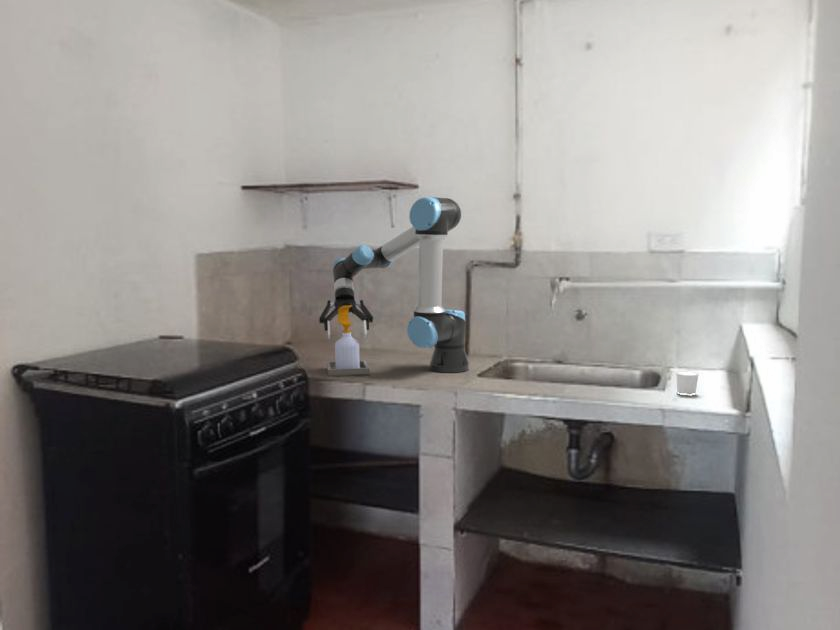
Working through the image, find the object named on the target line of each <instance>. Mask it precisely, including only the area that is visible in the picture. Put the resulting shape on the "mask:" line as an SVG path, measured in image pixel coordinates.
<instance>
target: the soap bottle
mask: <svg viewBox="0 0 840 630" xmlns="http://www.w3.org/2000/svg"><path fill="white" fill-rule="evenodd" d="M350 307H352V305H348V306H342V307H340V308H339V309H338V314H337V315H338V316H337V317H338V318H337V319H338V324H339V325H341V326H342V327H343V328H344V329H343V330H342V332H341V333H342V336H341V338H339V339H337V340H336V342H335V343H334V356H335V357H334V358H335V359H334V360H335V366H336V369H350V368H360V361H361V360H360V343H359V341H358V340H357V339H356V338H354V337H353V336H352V330H350V328H351V326H352V325H354V323H353V322H351V321H350V319H349V316H350V315H349V313H348V310H349V308H350Z"/></svg>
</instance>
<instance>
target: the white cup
mask: <svg viewBox="0 0 840 630" xmlns="http://www.w3.org/2000/svg"><path fill="white" fill-rule="evenodd" d="M675 374H676V393H677V392H679V393H687V394H692V393H697V386H698V380H699V373H697V372H694V371H677V372H676V373H675Z"/></svg>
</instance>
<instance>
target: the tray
mask: <svg viewBox="0 0 840 630" xmlns="http://www.w3.org/2000/svg"><path fill="white" fill-rule="evenodd" d="M370 369H371V368H370V367H369V364H368V363H367V361H366V360H360V368H350V369H336V366H335V361H334V360H333V361H331V360H330V361H326V371H327V376H328V377H329V376H335V377H358V376H359V377H360V376H361V377H363V375H367V376H370V374H371V373H370V371H371V370H370Z"/></svg>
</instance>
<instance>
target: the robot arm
mask: <svg viewBox="0 0 840 630" xmlns="http://www.w3.org/2000/svg"><path fill="white" fill-rule="evenodd" d="M461 210H462V209H461V207H460V205H459V204H458V202H456V201H455V200H454V199H452V198H448V197H447V198H446V197H435V196H426V197H421V198H418V199H417V200H416V201H414V202H413V204H412V206H411V207H410V210H409V221H410V224H411V225H412V227H410V228H409V229H406V230H405V231H404V232H402V233H400V234H398V235H396V237H393V238H392V239H390V240H389V241H387V242H385V243H383V245H382V246H379V247H378V248H376V249H375V248H374V249H371V247H370V246H368V245H365V244H361V245H358V247H356V248H355V249H354V250H353V251H352V252H351V253H350V254H348V256H347V257H346V258H345V257H340V258H337V259H335V260H334V262H333V264H332V267H333V268H332V275H333V286H334V288H333V289H334V301H331V300H327V301H326V302H327V304H326V306H325V307H324V309H323V311H322V312H321V314H320V316H319V320H318V321H319V324H323V326H324V331H325V332H327V340H331V325H330V323H331V321H332V320H333V319H334V318H335V317H336V316H337V315H338V309H339V308H340V307H342V306H348V305H352V307H350V308H349V310H348V314H349V313H351V314H352V315H354V316H356V317H357V318H359V319H360V321H362V322H363V325H362V326H363V335H364V336H363V337H364V339H367V338H368V331H369V330H370V323H373V322H374V316H373V315H372V314H371V312H370V310H369V309H368V308H367V307H366V305H365V304H364V300H363V299H360V300H359V301H357V300H355V288H354V277H355V276H357V275H358V274H359V273H360V272H361V271H362V270H369V269H385V268H389V267H390V266H392V265H393V263H394V261H395V260H398V259H399V258H400V257H402V256H404V255H405V254H407V253H410V252H411V251H412V250H414V249H415V248H418V247H419V248H418V282H417V283H418V286H417V287H418V289H417V290H418V291H417V292H418V293H417V306H416V307H414V309H413V317H412V318H411V319H410V321H408V323H407V327H406V328H407V329H406V330H407V331H406V332H407V336H408V338H409V340H410V341H411V342H412V343H413V345H415V346H416V347H417V348H421V349H424V348H425V349H426V348H427V349H429V348H433V347H434V348H433V353H432V355H431V359H430V361H429V370H430V371H433V372H437V373H462V372H466V371H469V370H470V363H469V358H468V356H467V353H466V349H465V345H466V313H465V312H464V311H463V310H456V309H455V310H454V309H444V307H443V306H442V304H443V303H442V301H443V299H442V298H443V297H442V296H443V261H444V260H443V259H444V258H443V257H444V256H443V255H444V253H443V252H444V240H445V239H446V238H447V236H448V232H450V231H451V230H453V229H455V228H456V227H458V225H459V223H460V221H461V218H462V211H461ZM333 307H334V309H333V310H331V309H332V308H333ZM357 307H358V308H360V310H361V311H360V310H359V309H358V308H357ZM330 310H331V312H330ZM328 313H329V314H328Z"/></svg>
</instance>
